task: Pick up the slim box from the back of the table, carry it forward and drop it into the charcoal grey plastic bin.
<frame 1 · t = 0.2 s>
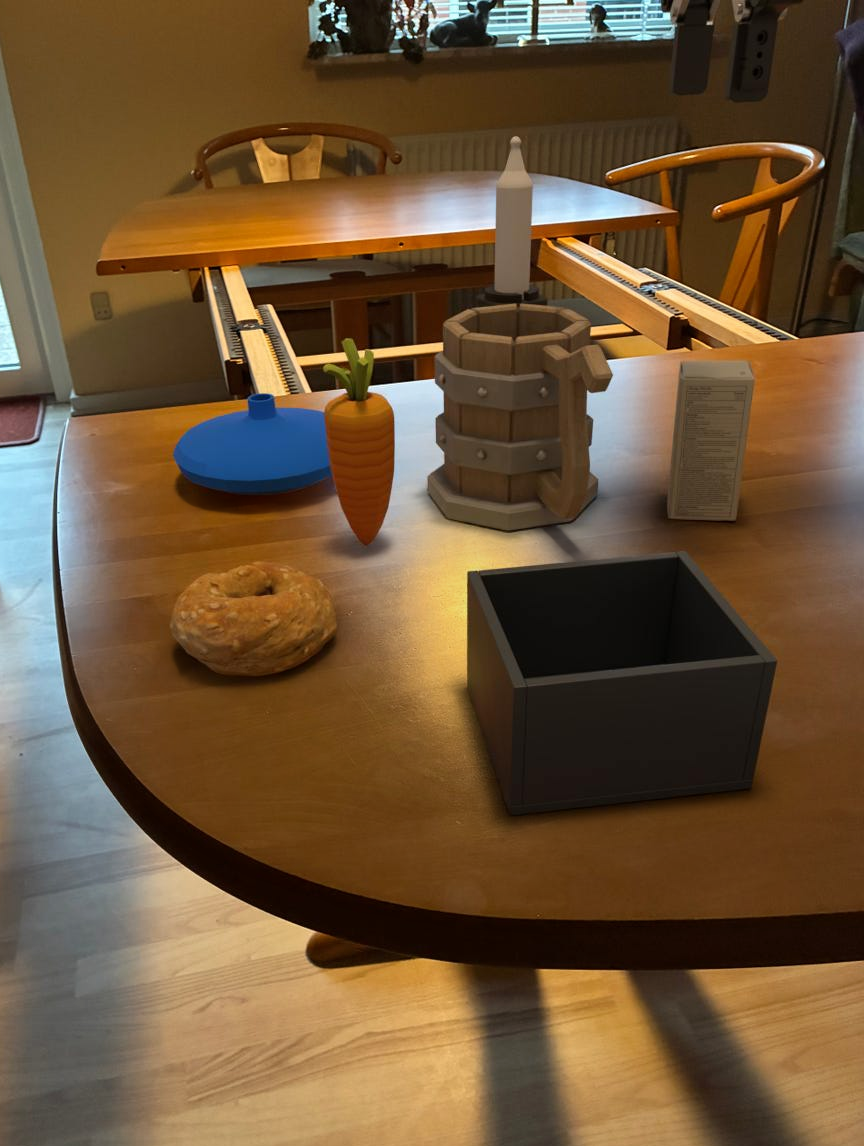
hand: (714, 97, 58), 28 cm above the table, tool pointing down, fingers open, 8 cm apart
box: (698, 512, 76), on the table
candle: (507, 442, 90), on the table
bagel: (261, 642, 62), on the table
bin: (597, 733, 53), on the table
tankard: (527, 515, 77), on the table
carrot: (366, 547, 73), on the table
vase: (269, 478, 85), on the table
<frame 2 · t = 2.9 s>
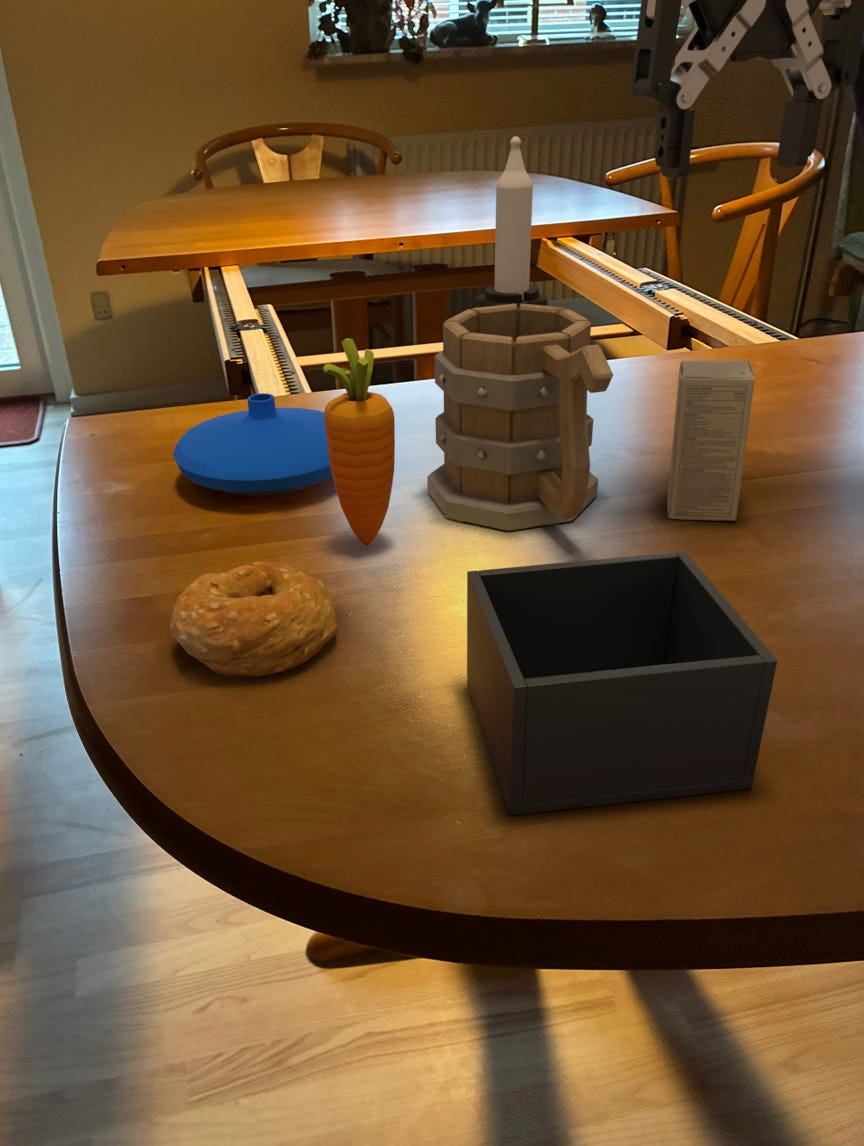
hand: (733, 171, 62), 24 cm above the table, tool pointing down, fingers open, 8 cm apart
nothing on the table moved.
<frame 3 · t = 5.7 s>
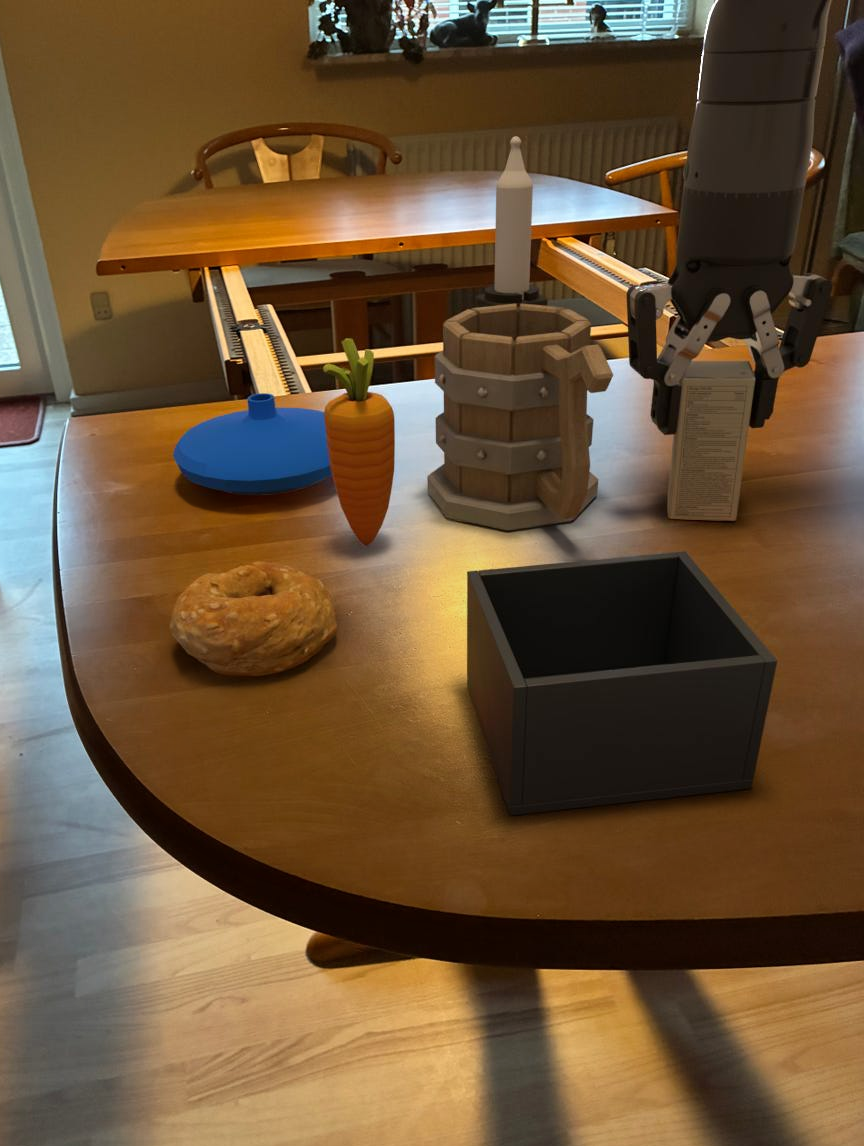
hand: (709, 427, 72), 7 cm above the table, tool pointing down, fingers closed on box, 6 cm apart
box: (698, 512, 76), on the table, touching gripper
everything else where it was.
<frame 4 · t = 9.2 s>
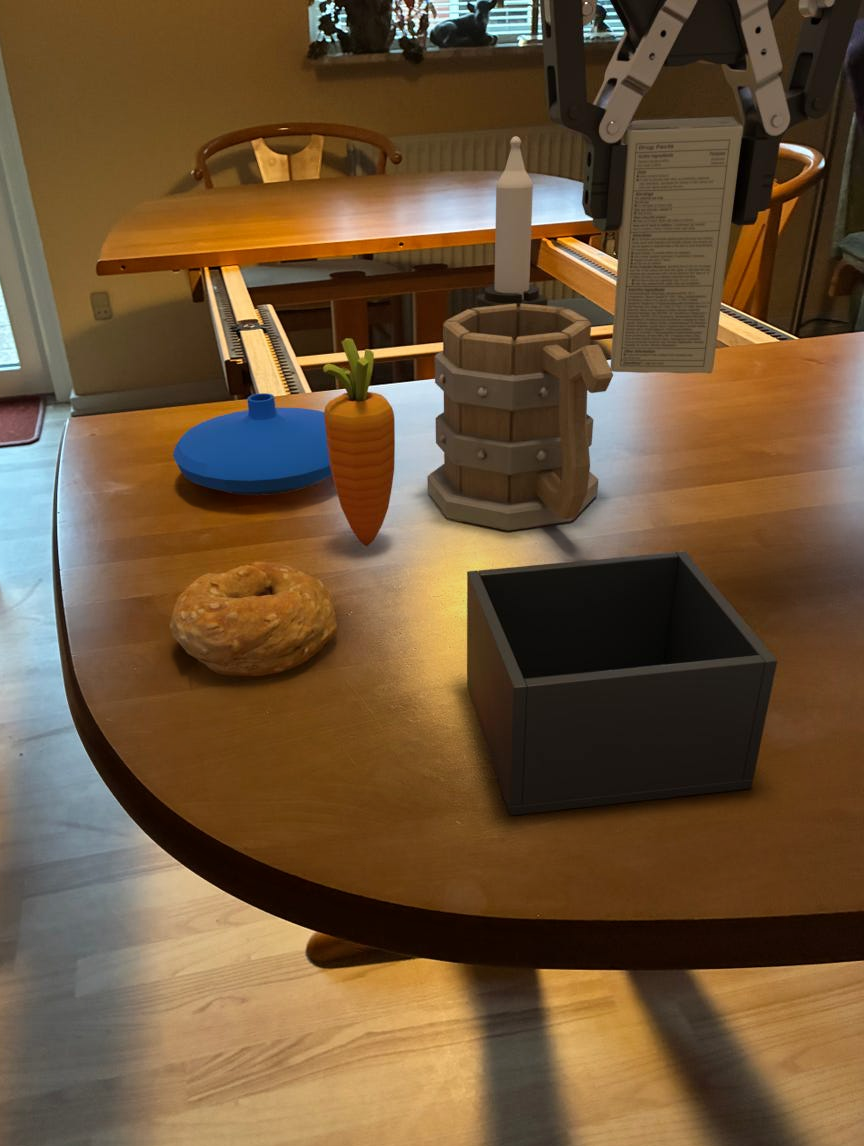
hand: (673, 224, 47), 24 cm above the table, tool pointing down, fingers closed on box, 6 cm apart
box: (657, 366, 51), point 17 cm above the table, touching gripper
everything else where it was.
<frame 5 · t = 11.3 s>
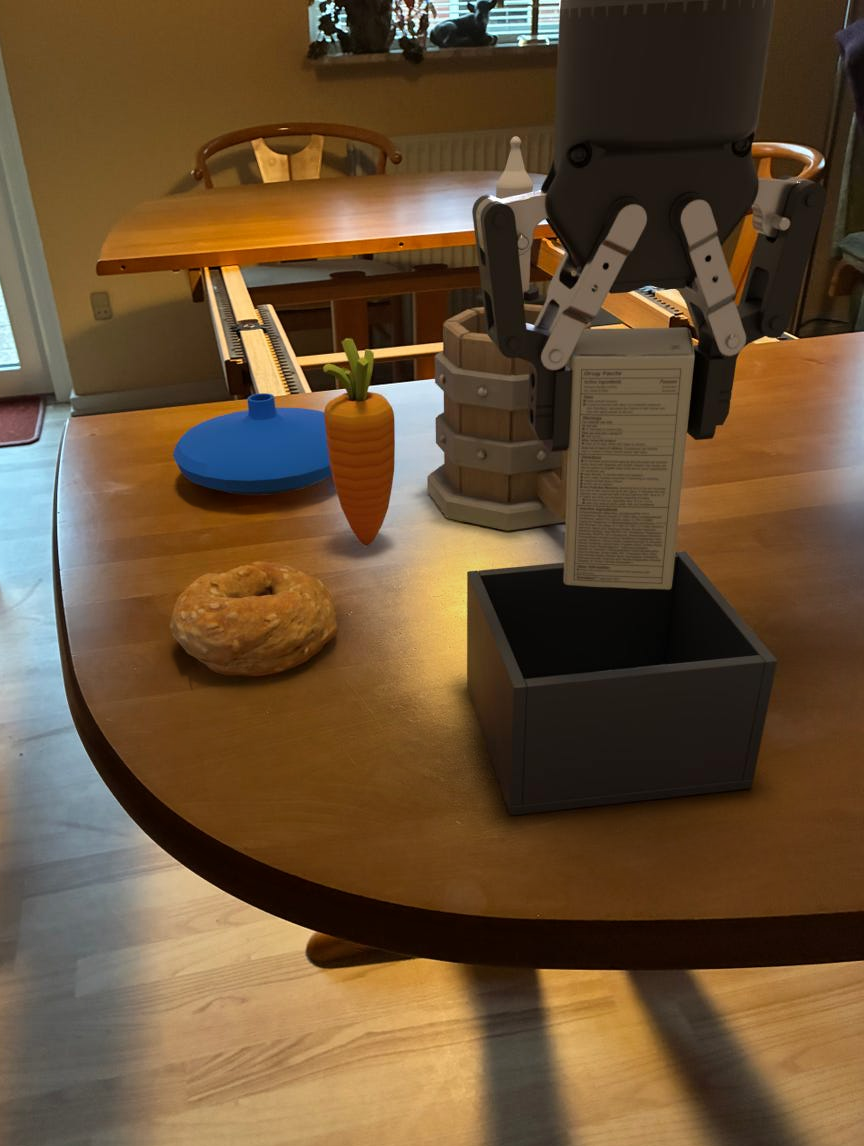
hand: (626, 438, 44), 17 cm above the table, tool pointing down, fingers closed on box, 6 cm apart
box: (614, 572, 48), point 10 cm above the table, touching gripper
everything else where it was.
when the fingers open (13 cm above the table, at t = 12.8 s): box drops 6 cm, resting on bin.
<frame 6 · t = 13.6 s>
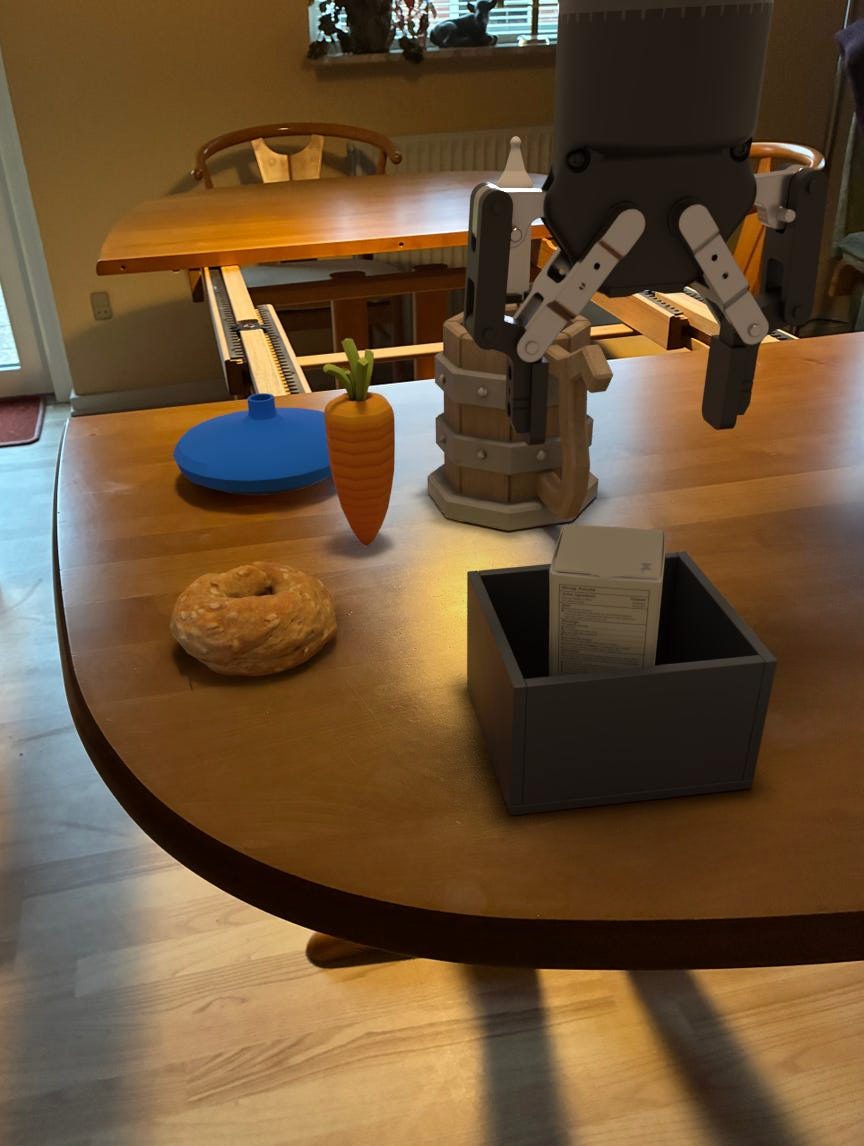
hand: (625, 431, 44), 17 cm above the table, tool pointing down, fingers open, 8 cm apart
box: (597, 725, 52), point 1 cm above the table, touching bin
everything else where it was.
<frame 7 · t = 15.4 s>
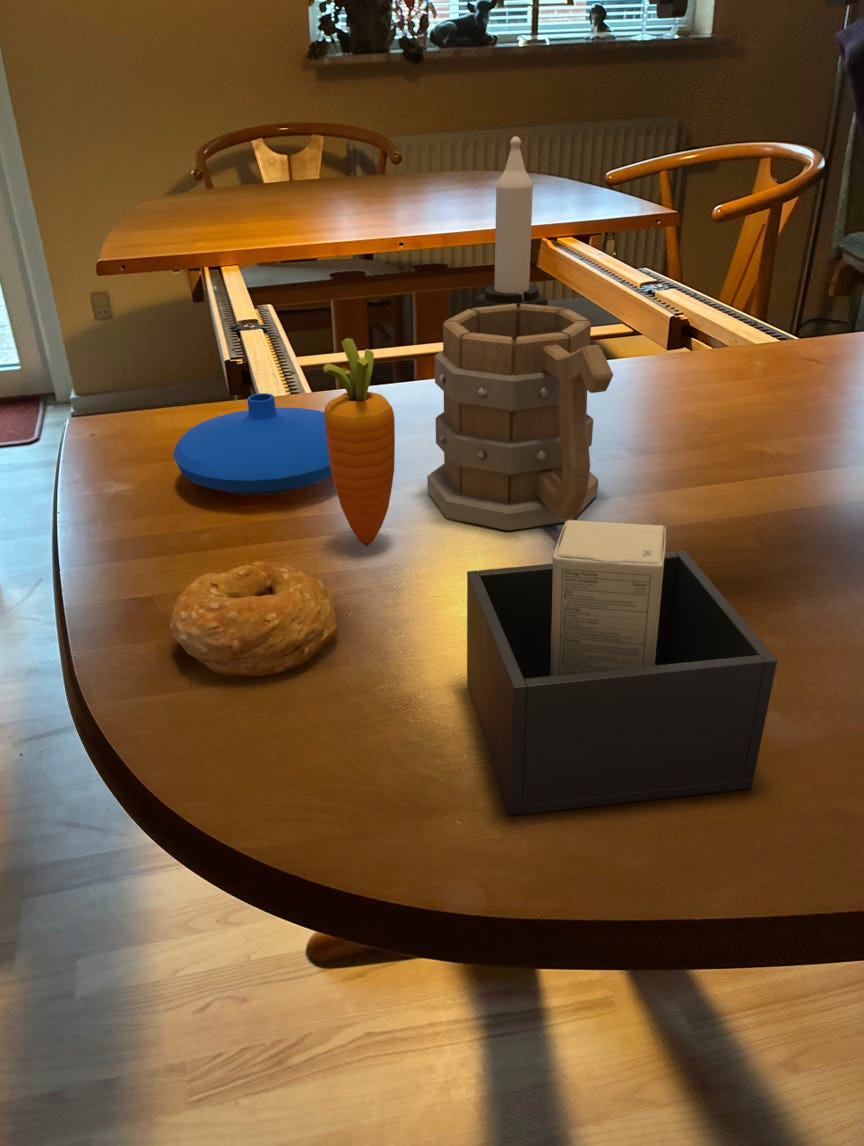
hand: (757, 11, 47), 33 cm above the table, tool pointing down, fingers open, 8 cm apart
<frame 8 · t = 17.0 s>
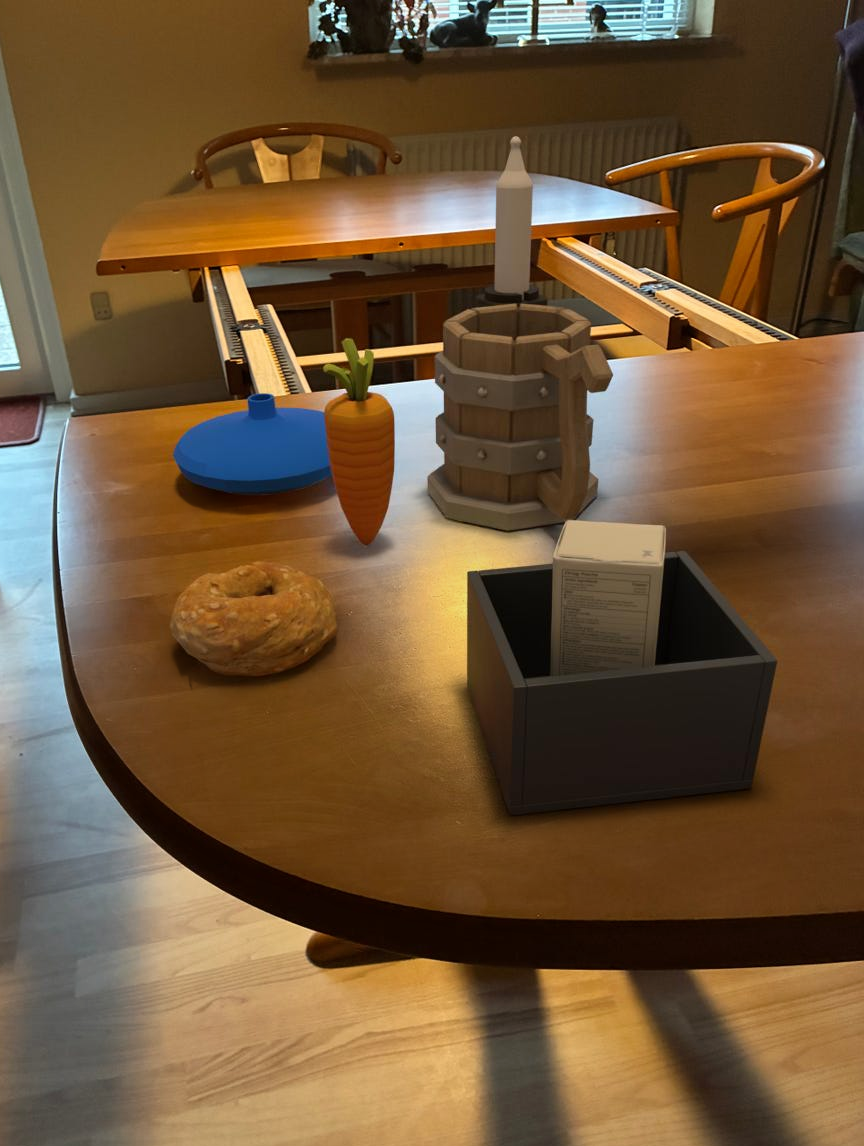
nothing on the table moved.
at the end: box inside the target area in the bin (0.1 cm from its centre), point 0.4 cm above the bin's base; the gripper is holding nothing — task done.
